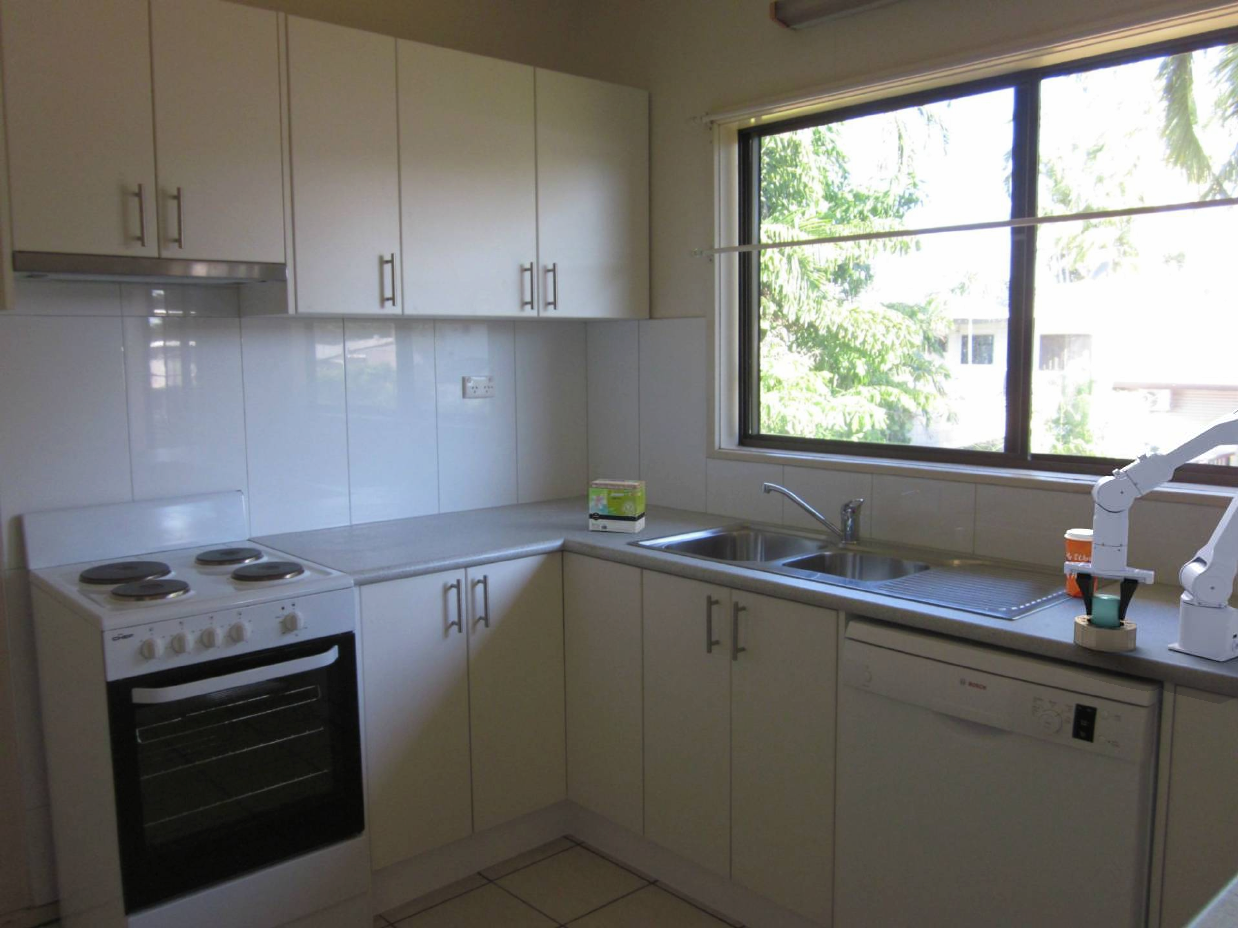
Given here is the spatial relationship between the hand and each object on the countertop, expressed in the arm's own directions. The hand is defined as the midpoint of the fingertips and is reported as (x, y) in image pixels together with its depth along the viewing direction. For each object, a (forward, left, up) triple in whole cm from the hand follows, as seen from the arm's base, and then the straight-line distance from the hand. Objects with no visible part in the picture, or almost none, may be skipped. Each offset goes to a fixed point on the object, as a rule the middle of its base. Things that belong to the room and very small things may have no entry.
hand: (1105, 616), depth 179 cm
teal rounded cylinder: (0, 0, -1) cm, 1 cm away
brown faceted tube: (0, 0, -5) cm, 5 cm away
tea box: (+146, +11, -5) cm, 147 cm away
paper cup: (+23, -30, -5) cm, 38 cm away
